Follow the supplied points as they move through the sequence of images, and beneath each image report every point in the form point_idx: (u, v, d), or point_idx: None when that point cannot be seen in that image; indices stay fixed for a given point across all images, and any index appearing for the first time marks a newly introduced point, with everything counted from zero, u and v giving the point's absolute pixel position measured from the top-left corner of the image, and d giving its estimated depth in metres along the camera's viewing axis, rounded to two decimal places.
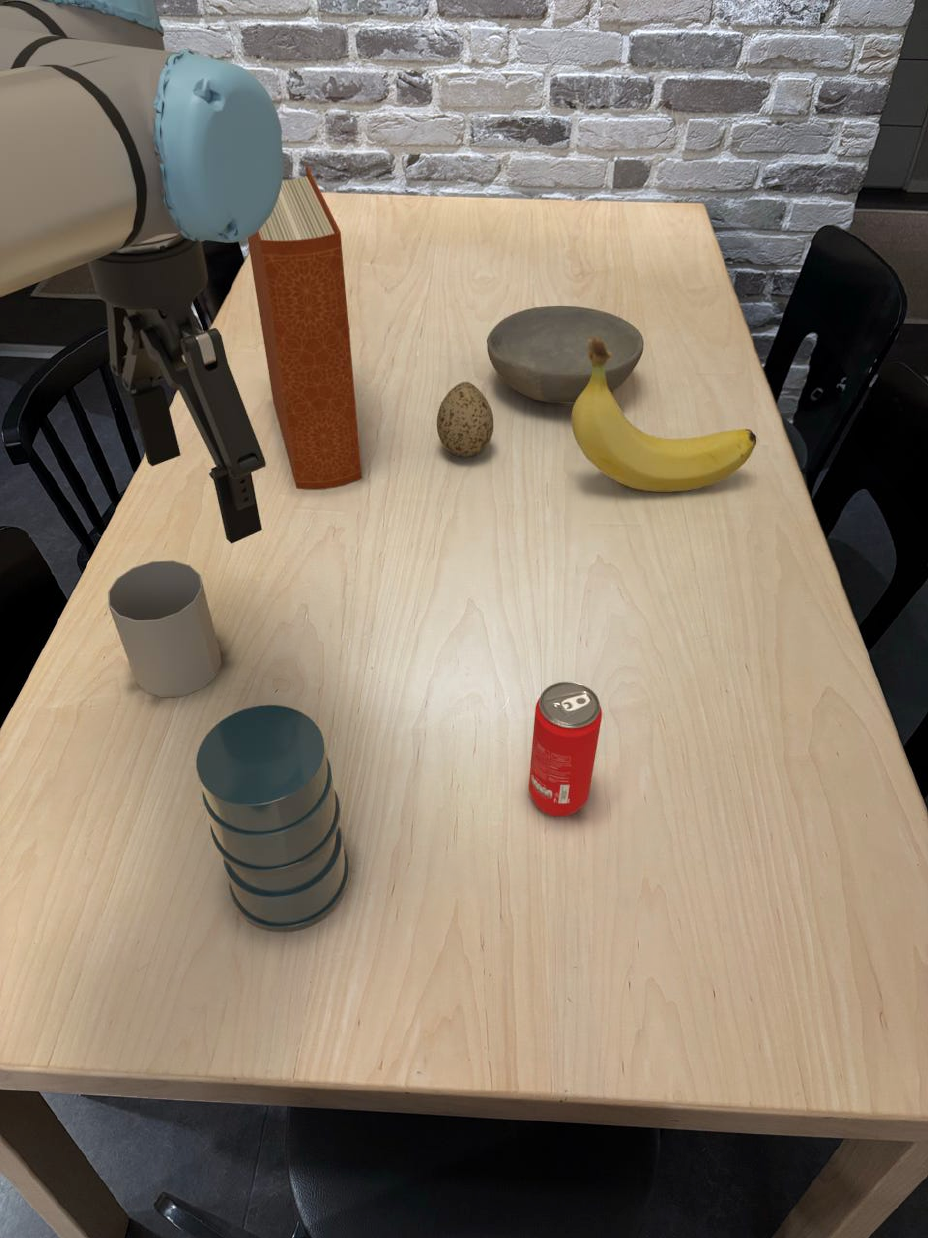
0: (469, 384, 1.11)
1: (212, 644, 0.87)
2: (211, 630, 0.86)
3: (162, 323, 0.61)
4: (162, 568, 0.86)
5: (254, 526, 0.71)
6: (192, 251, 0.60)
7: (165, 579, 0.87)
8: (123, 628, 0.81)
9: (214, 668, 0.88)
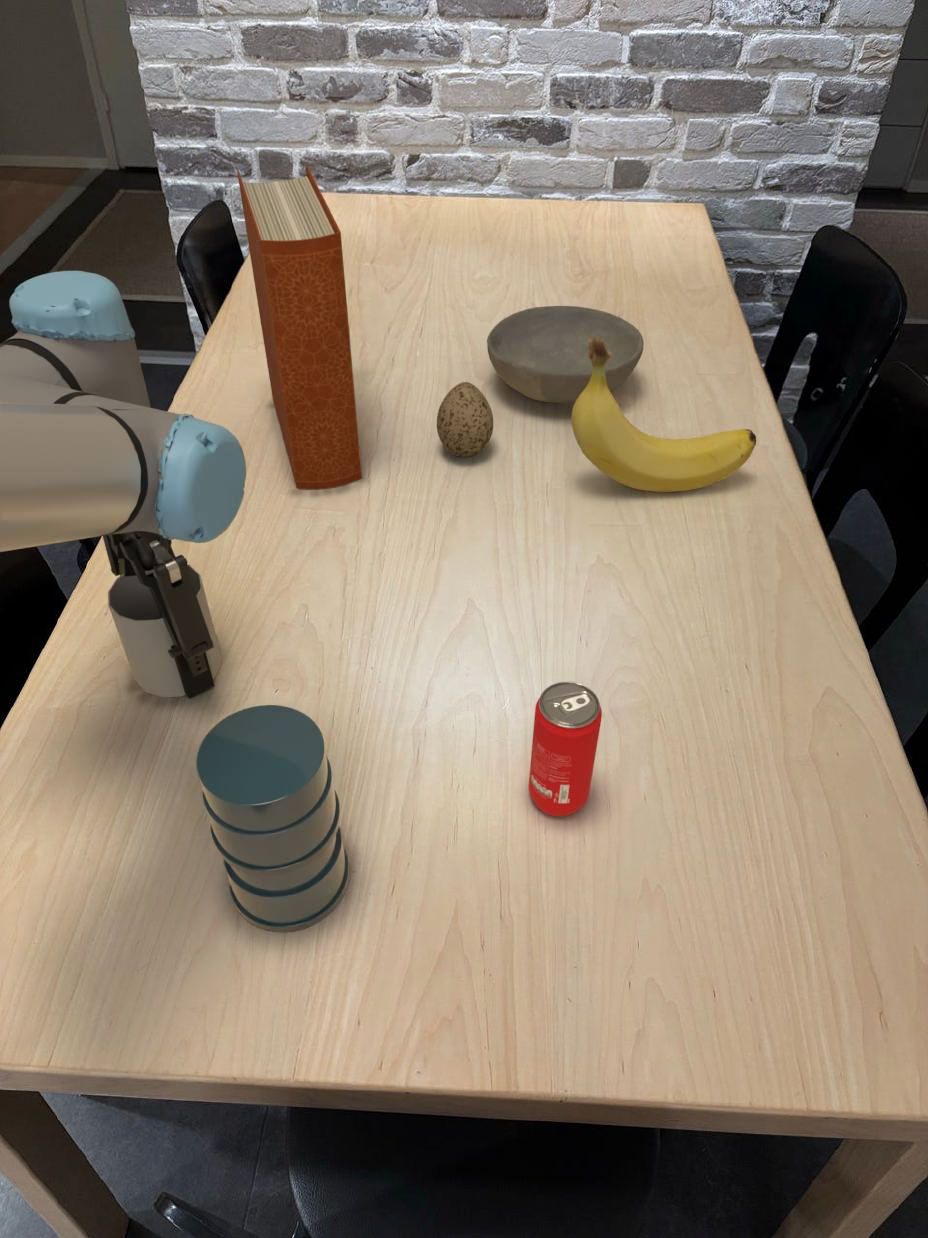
0: (469, 384, 1.11)
1: None
2: (211, 630, 0.86)
3: (138, 542, 0.75)
4: None
5: (208, 684, 0.87)
6: None
7: None
8: (123, 628, 0.81)
9: (214, 668, 0.88)
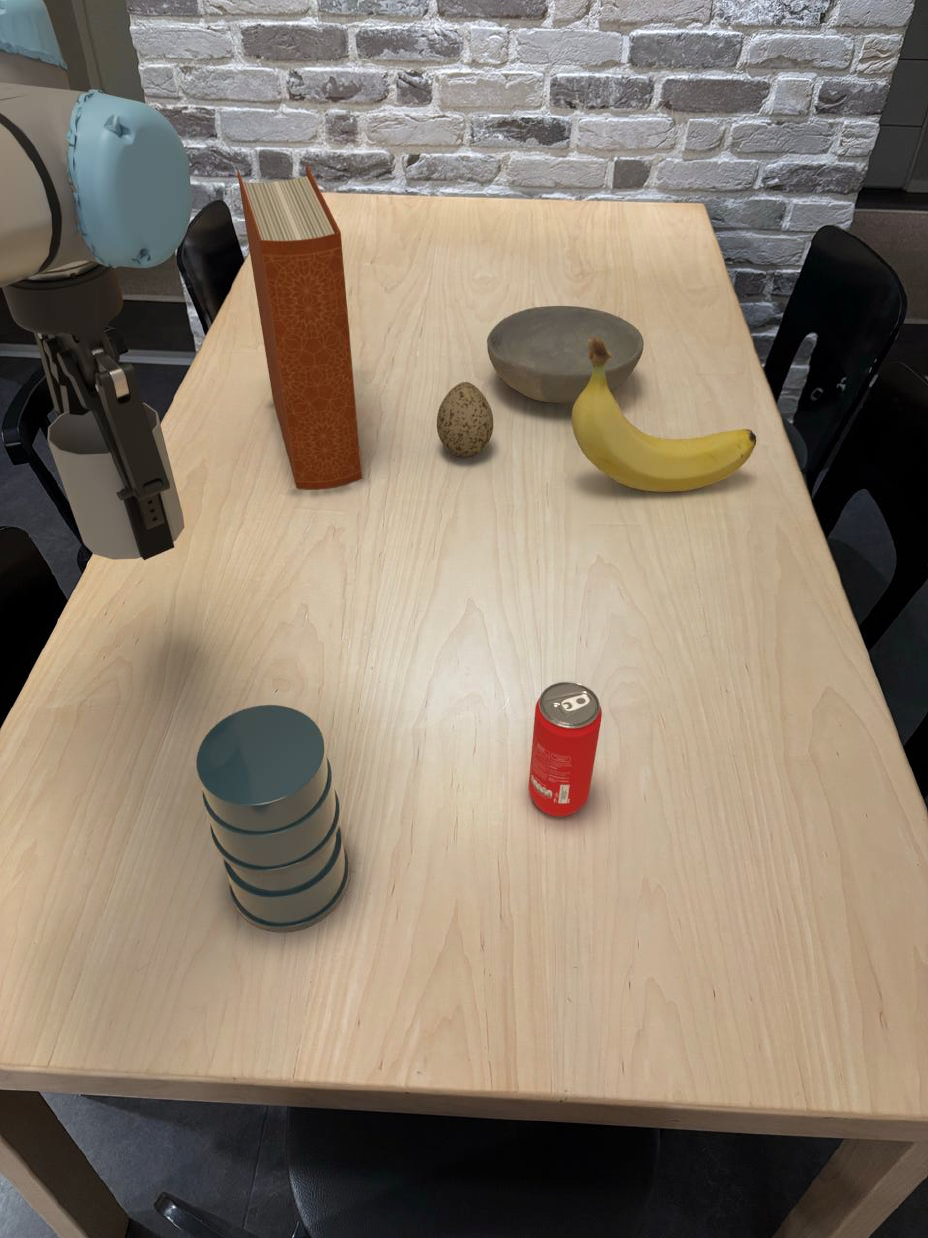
0: (469, 384, 1.11)
1: (172, 498, 0.75)
2: (171, 481, 0.74)
3: (77, 348, 0.63)
4: None
5: (166, 544, 0.75)
6: (104, 278, 0.62)
7: None
8: (65, 467, 0.69)
9: (175, 529, 0.76)
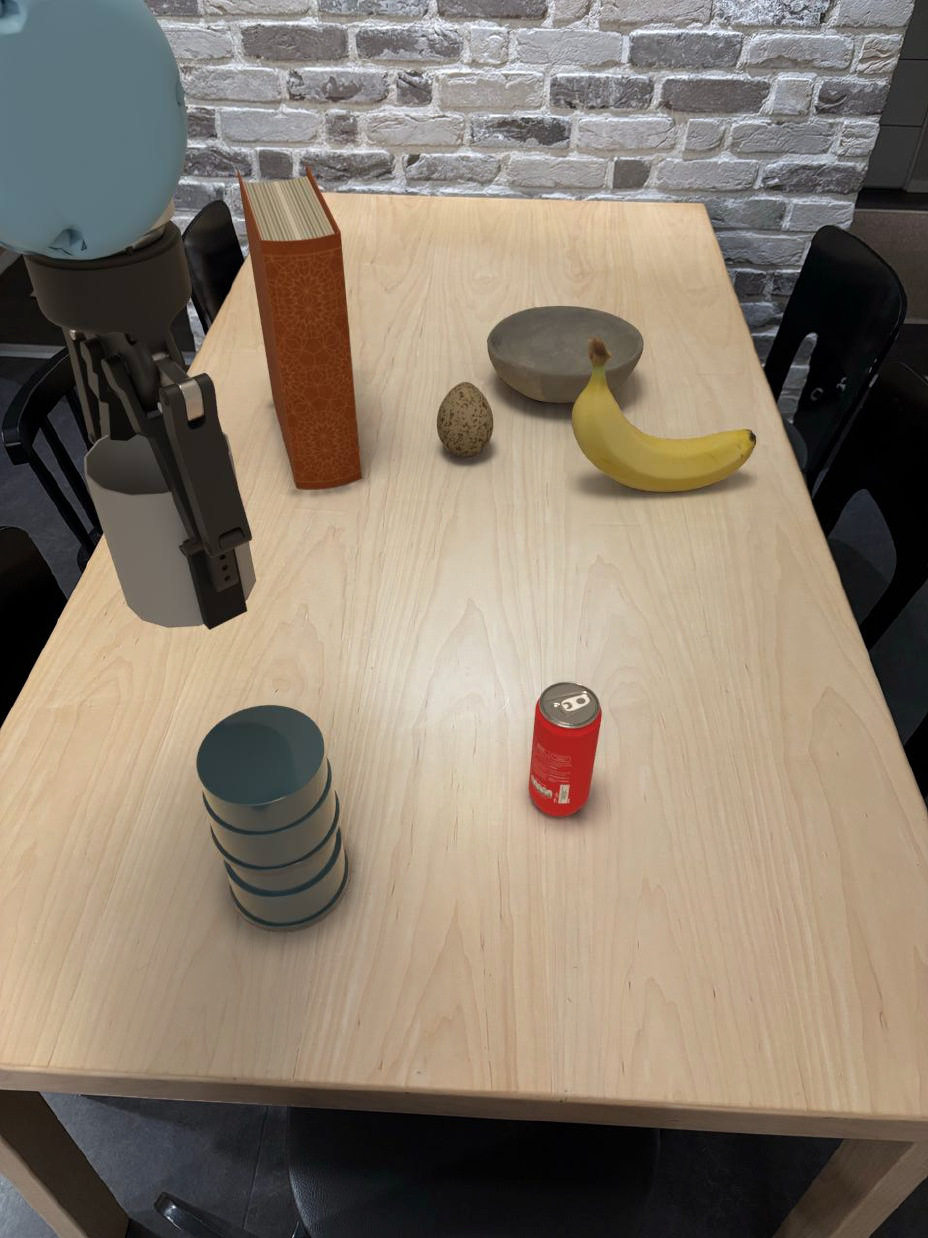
0: (469, 384, 1.11)
1: (244, 546, 0.57)
2: None
3: (132, 352, 0.45)
4: None
5: (238, 607, 0.57)
6: (171, 254, 0.44)
7: None
8: (108, 511, 0.52)
9: (246, 585, 0.59)
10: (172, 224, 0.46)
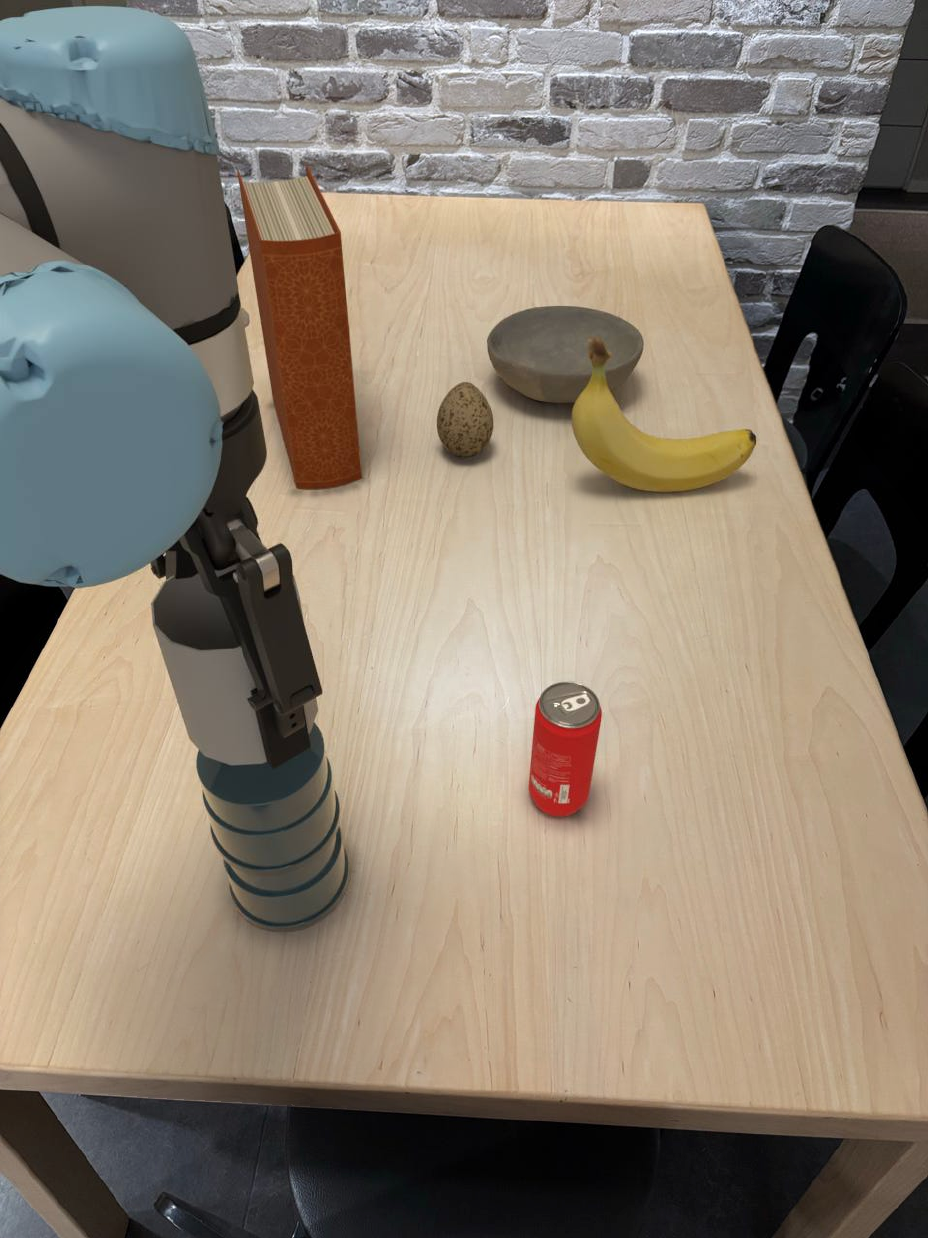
0: (469, 384, 1.11)
1: None
2: None
3: (208, 522, 0.45)
4: (232, 566, 0.56)
5: (302, 745, 0.56)
6: (249, 428, 0.43)
7: None
8: (176, 662, 0.51)
9: (309, 719, 0.58)
10: (249, 391, 0.45)
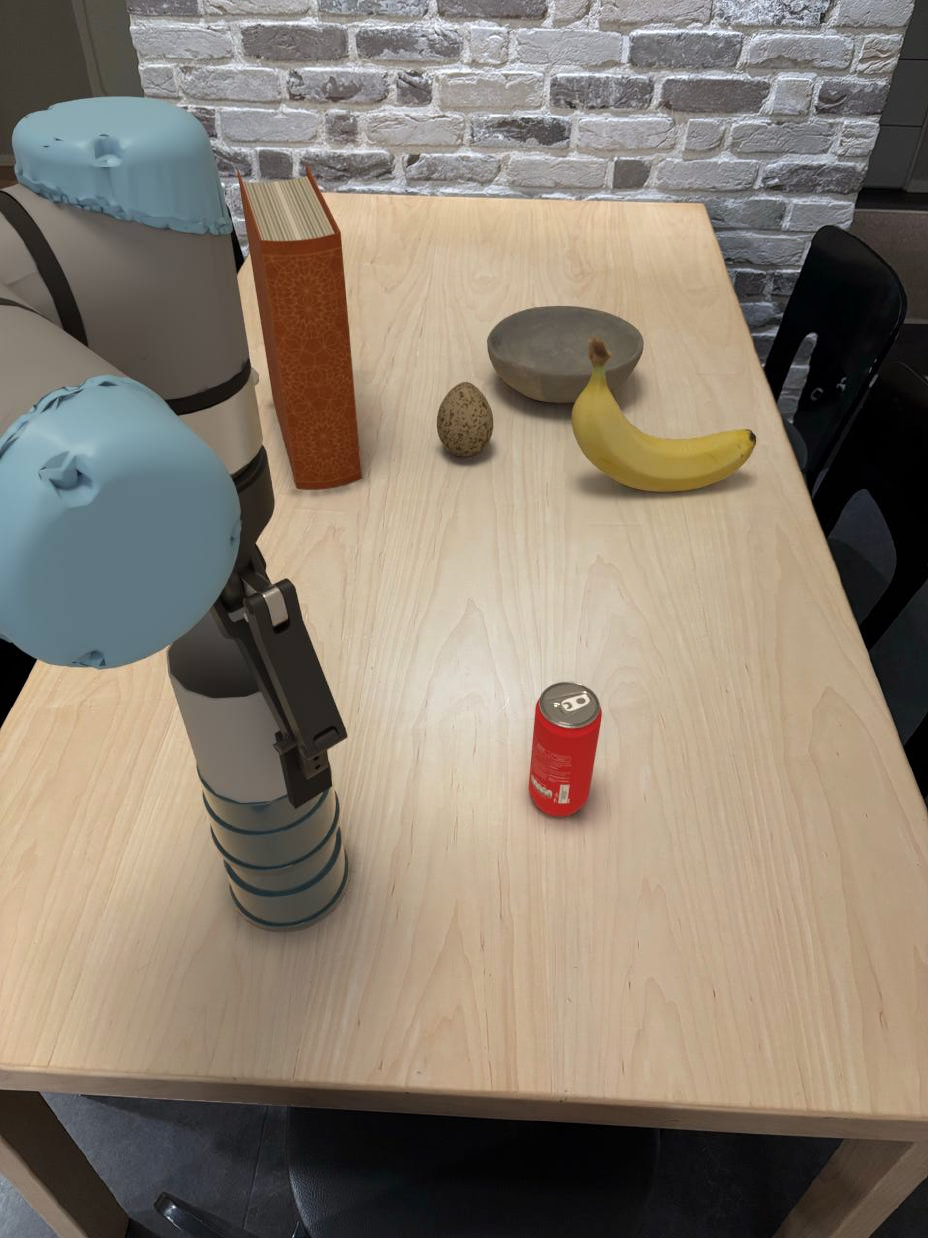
0: (469, 384, 1.11)
1: None
2: None
3: None
4: (242, 613, 0.59)
5: (323, 784, 0.56)
6: (259, 482, 0.45)
7: None
8: (191, 708, 0.54)
9: None
10: None
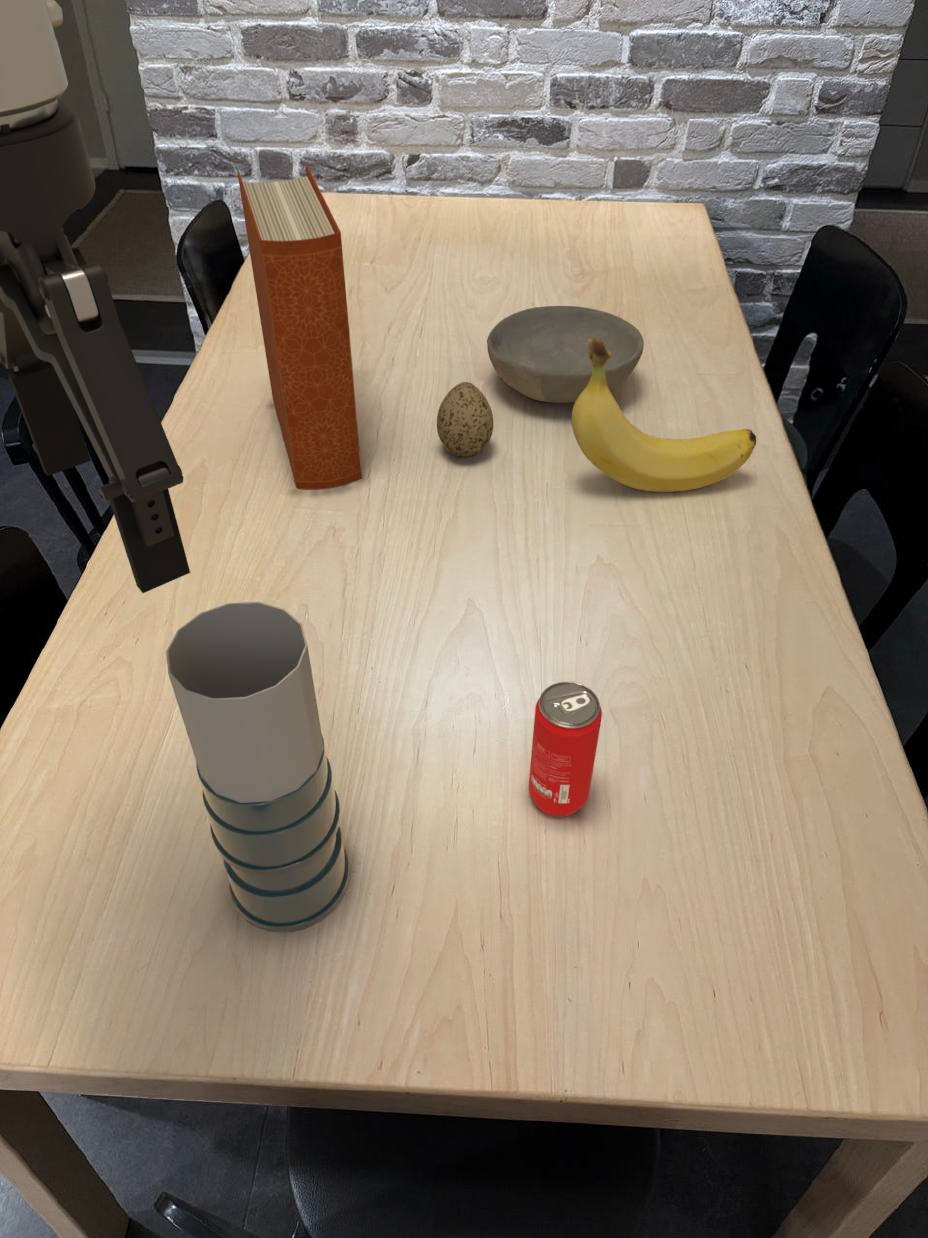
0: (469, 384, 1.11)
1: (315, 723, 0.59)
2: (315, 704, 0.59)
3: (16, 256, 0.39)
4: (242, 613, 0.59)
5: (178, 568, 0.48)
6: (59, 139, 0.37)
7: (246, 628, 0.59)
8: (191, 708, 0.54)
9: (316, 758, 0.60)
10: (67, 107, 0.39)
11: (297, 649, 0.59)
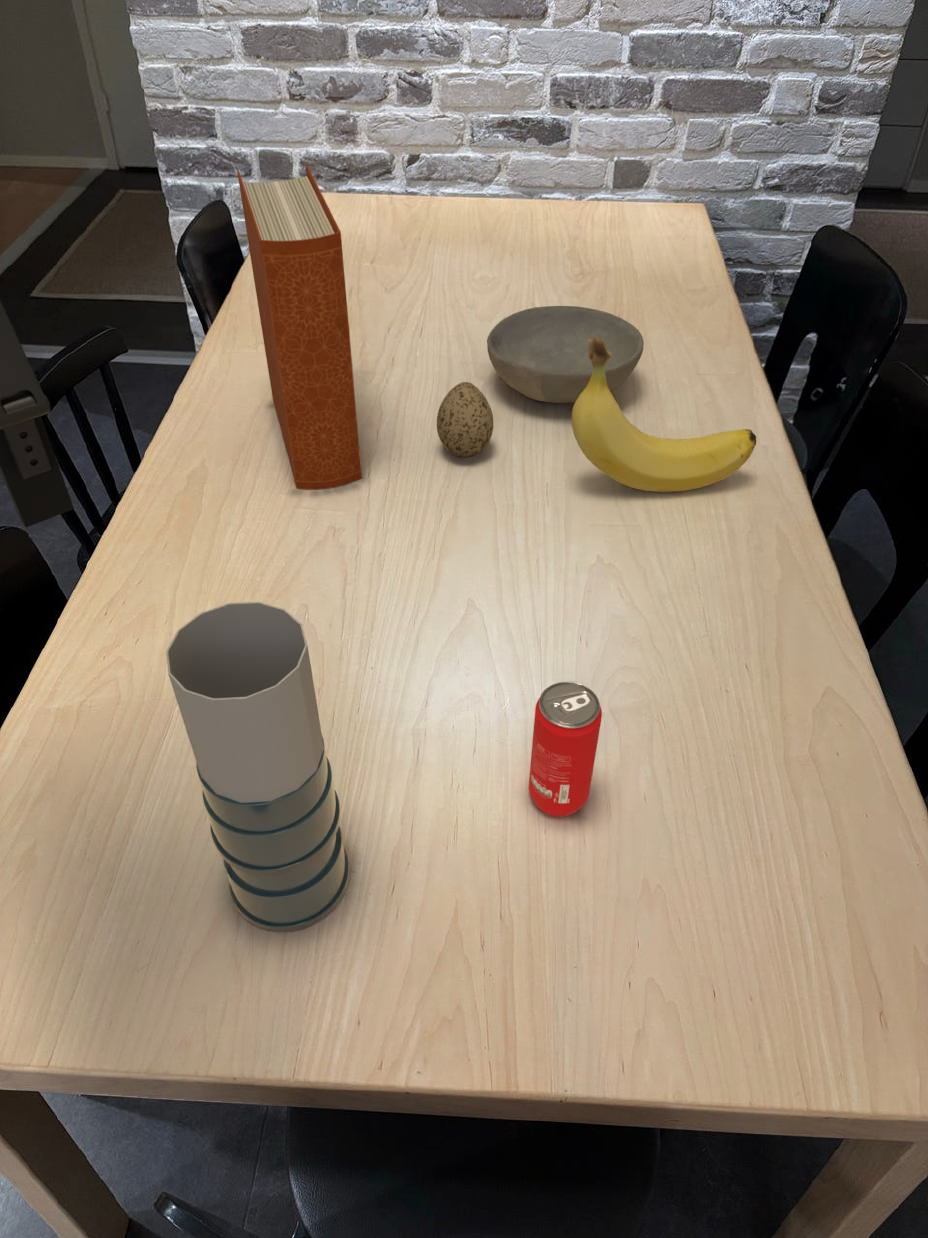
0: (469, 384, 1.11)
1: (315, 723, 0.59)
2: (315, 704, 0.59)
3: None
4: (242, 613, 0.59)
5: (60, 503, 0.50)
6: None
7: (246, 628, 0.59)
8: (191, 708, 0.54)
9: (316, 758, 0.60)
10: None
11: (297, 649, 0.59)
